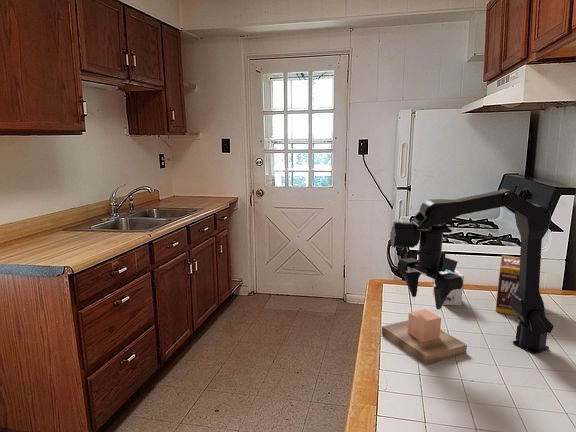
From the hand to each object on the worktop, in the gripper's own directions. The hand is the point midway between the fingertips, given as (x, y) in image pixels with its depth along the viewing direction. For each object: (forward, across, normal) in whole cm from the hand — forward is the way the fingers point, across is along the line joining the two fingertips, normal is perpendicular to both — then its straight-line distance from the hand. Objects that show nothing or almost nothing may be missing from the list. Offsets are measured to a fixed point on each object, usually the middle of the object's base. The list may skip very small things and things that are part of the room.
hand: (425, 302), depth 113 cm
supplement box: (+12, +6, -46) cm, 48 cm away
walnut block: (+13, 0, 0) cm, 13 cm away
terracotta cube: (+10, 0, 0) cm, 10 cm away
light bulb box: (+12, +20, -30) cm, 38 cm away
